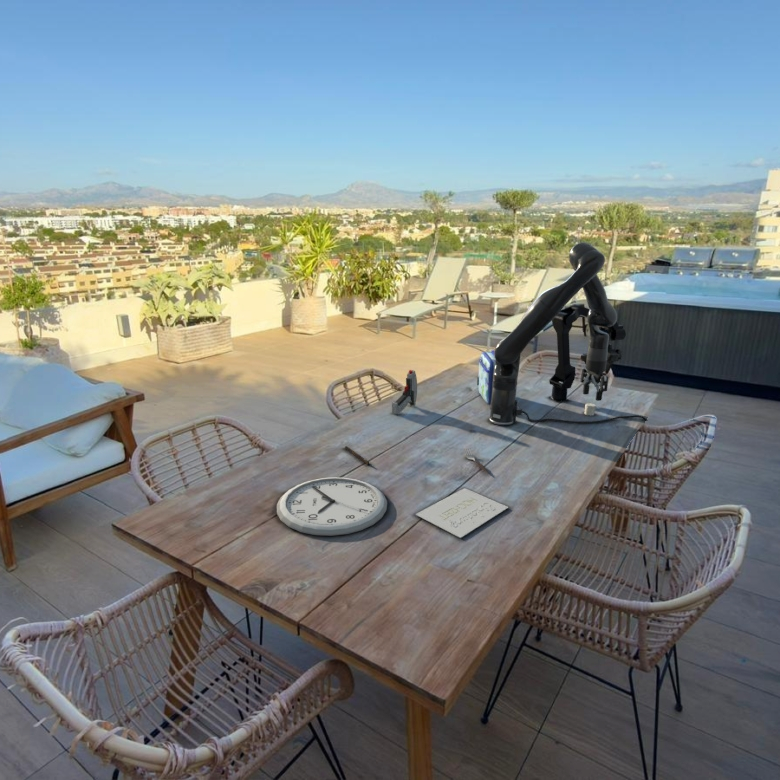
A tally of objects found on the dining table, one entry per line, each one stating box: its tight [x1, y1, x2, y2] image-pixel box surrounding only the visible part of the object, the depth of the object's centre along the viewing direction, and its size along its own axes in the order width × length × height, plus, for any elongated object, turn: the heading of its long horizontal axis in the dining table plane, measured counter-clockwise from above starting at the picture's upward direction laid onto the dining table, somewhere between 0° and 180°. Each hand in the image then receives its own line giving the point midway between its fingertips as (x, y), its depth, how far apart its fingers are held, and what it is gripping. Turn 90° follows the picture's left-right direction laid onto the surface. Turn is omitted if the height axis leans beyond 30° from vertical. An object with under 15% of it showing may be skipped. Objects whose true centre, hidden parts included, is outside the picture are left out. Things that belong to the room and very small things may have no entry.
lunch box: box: [476, 349, 496, 406], centre depth 230 cm, size 26×11×21 cm, turn 179°
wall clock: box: [276, 476, 388, 537], centre depth 142 cm, size 30×2×30 cm
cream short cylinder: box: [583, 402, 597, 417], centre depth 217 cm, size 4×4×4 cm
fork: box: [463, 448, 488, 474], centre depth 169 cm, size 3×16×2 cm, turn 15°
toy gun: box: [391, 369, 418, 415], centre depth 216 cm, size 2×16×15 cm
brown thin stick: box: [344, 445, 370, 465], centre depth 173 cm, size 15×1×1 cm, turn 34°
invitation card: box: [414, 487, 509, 539], centre depth 141 cm, size 21×1×15 cm
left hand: (591, 397), depth 212 cm, fingers open, 8 cm apart
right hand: (598, 374), depth 241 cm, fingers open, 9 cm apart
